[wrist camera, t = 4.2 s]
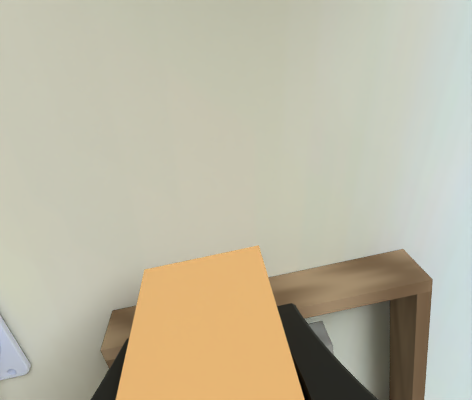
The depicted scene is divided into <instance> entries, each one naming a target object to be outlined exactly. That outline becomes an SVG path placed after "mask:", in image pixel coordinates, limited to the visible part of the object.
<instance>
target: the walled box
mask: <svg viewBox="0 0 472 400" xmlns="http://www.w3.org/2000/svg"><path fill="white" fill-rule="evenodd" d="M432 280H433V279H432V278H431V277H430V276H429V275H428V274H427V273H426V272H425V271H424V270H423V269H422V268H421V267H420V266H419V265H418V264H417V263H416V262H415V261H414V260H413V259H412V258H411V257H410V256H409V255H408V254H407V253H406V251H405V250H404V249H401V250H397V251H392V252H387V253H382V254H378V255H373V256H368V257H364V258H359V259H354V260H349V261H345V262H340V263H335V264H331V265H326V266H321V267H316V268H312V269H307V270H302V271H298V272H293V273H288V274H283V275H279V276H274V277H269V282H270V285H271V288H272V292H273V295H274V299H275V302H276V305H277V306H280V305H285V304H289V303H293V304H294V305H296V307H297V308H298V310H299V312H300V313H301V315H302V316H303V318H309V317H313V316H318V315H323V314H327V313H332V312H337V311H341V310H346V309H351V308H355V307H360V306H365V305H369V304H374V303H379V302H383V301H388V300H390V396H389V400H424V394H425V380H426V366H427V351H428V337H429V323H430V309H431V295H432ZM135 310H136V306H133V307H128V308H123V309H118V310H114V311H112V314H111V318H110V321H109V324H108V327H107V331H106V334H105V337H104V340H103V344H102V347H101V350H100V351H101V353H102V355H103V357H104V359H105V361H106V363H107V365H108V367H109V369H110V367H111V365H112V363H113V362H114V360H115V358H116V357H117V355H118V353H119V351H120V350H121V348H122V346H123V344H124V343H125V341H126V340H127V338H129V337H130V333H131V328H132V324H133V319H134V315H135ZM308 325H309V326H310V327H311V329H312V330H313V331H314V332H315V334H316V335H317V336H318V337H319V339H320V340H321V341H322V342H323V343H324V345H325V346H326V347H327V348H328V349H329V350H330V352H331V353H332V354H333V345H332V342H331V340H330V338H329V336H328V333H327V331H326V329H325V326H324V324H323V322H322V321H321V322H316V323H311V324H308Z"/></svg>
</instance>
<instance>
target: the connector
mask: <svg viewBox="0 0 472 400" xmlns="http://www.w3.org/2000/svg"><path fill="white" fill-rule="evenodd" d="M116 400H305V399H304V396H303V393H302V389H301V386H300V382H299V379H298V376H297V372H296V369H295V366H294V362H293V359H292V356H291V352H290V349H289V346H288V342H287V339H286V335H285V332H284V329H283V325H282V322H281V319H280V315H279V312H278V309H277V305H276V302H275V299H274V295H273V292H272V288H271V285H270V282H269V278H268V275H267V272H266V268H265V265H264V262H263V258H262V255H261V252H260V248H259V246H254V247H249V248H245V249H240V250H235V251H230V252H226V253H221V254H216V255H212V256H207V257H202V258H197V259H193V260H188V261H183V262H179V263H174V264H169V265H164V266H160V267H155V268H150V269H146V270H144V274H143V279H142V283H141V288H140V292H139V297H138V301H137V306H136V310H135V315H134V319H133V324H132V328H131V333H130V337H129V342H128V346H127V351H126V355H125V360H124V364H123V369H122V373H121V378H120V382H119V387H118V391H117V396H116Z"/></svg>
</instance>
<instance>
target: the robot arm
mask: <svg viewBox="0 0 472 400" xmlns="http://www.w3.org/2000/svg"><path fill="white" fill-rule="evenodd" d="M277 309H278V312H279V315H280V319H281V322H282V325H283V329H284V332H285V335H286V339H287V342H288V346H289V349H290V352H291V356H292V359H293V362H294V366H295V369H296V372H297V376H298V379H299V382H300V386H301V389H302V393H303V396H304V399H305V400H378V399H377V398H376V397H375V396H374V395H373V394H371V393H370V392H369V391H368V390H367V389H366V388H365V387H364V386H363V385H362V384H361V383H360V382H359V381H358V380H357V379H356V378H355V377H354V376H353V375H352V374H351V373H350V372H349V371H348V370H347V369H346V368H345V367H344V366H343V365H342V364H341V363H340V362H339V361H338V359H337V358H336V357H335V356H334V355H333V354H332V353H331V352H330V350H329V349H328V348H327V347H326V346H325V345H324V343H323V342H322V341H321V340H320V339H319V337H318V336H317V335H316V334H315V332H314V331H313V330H312V329H311V327H310V326H309V325H308V323H307V322H306V321H305V319H304V318H303V316H302V315H301V313H300V312H299V310H298V308H297V307H296V305H294V304H293V303H289V304H285V305H280V306H277ZM128 342H129V338H127V340H126V341H125V343H124V344H123V346H122V348H121V350H120V351H119V353H118V355H117V357H116V358H115V360H114V362H113V363H112V365H111V367H110V369H109V370H108V372H107V374H106V375H105V377H104V379H103V381H102V382H101V384H100V385H99V387H98V389H97V390H96V392H95V394H94V395H93V397H92V399H91V400H116V396H117V391H118V387H119V382H120V378H121V373H122V369H123V364H124V360H125V355H126V351H127V346H128ZM30 368H31V365H30V363H29V361H28V359H27V358H26V356H25V354H24V353H23V351H22V350H21V348H20V346H19V345H18V343H17V341H16V340H15V338H14V337H13V335H12V333H11V332H10V330H9V329H8V327H7V325H6V324H5V322H4V320H3V319H2V317H1V316H0V380H3V379H8V378H12V377H17V376H22V375H25V374H27V373H28V372H29V370H30Z"/></svg>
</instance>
